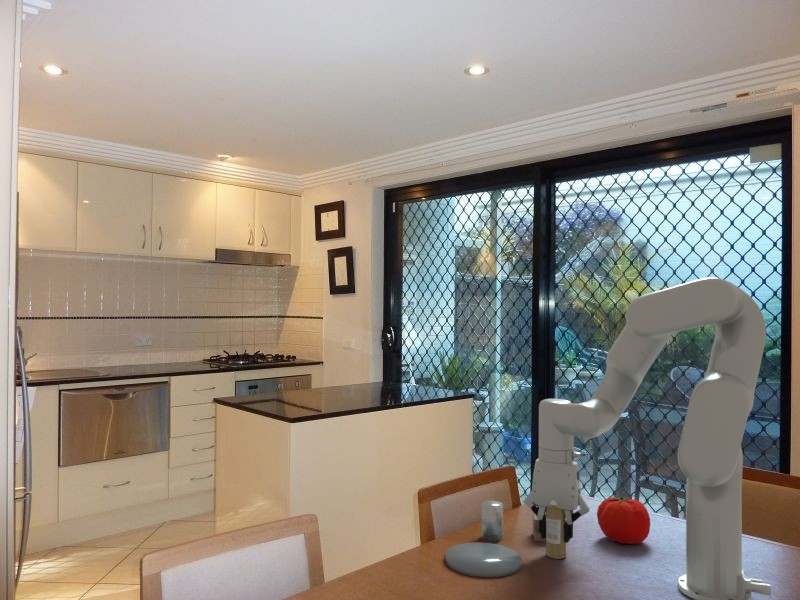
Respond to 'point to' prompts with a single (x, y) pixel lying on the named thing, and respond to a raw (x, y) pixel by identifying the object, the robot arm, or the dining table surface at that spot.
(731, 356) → the robot arm
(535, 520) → the walnut block
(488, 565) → the grey plate
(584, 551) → the dining table surface
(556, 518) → the sprinkles bottle
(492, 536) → the metal tin
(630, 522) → the tomato
